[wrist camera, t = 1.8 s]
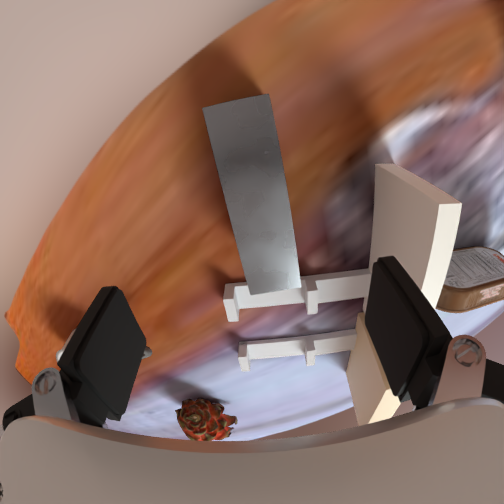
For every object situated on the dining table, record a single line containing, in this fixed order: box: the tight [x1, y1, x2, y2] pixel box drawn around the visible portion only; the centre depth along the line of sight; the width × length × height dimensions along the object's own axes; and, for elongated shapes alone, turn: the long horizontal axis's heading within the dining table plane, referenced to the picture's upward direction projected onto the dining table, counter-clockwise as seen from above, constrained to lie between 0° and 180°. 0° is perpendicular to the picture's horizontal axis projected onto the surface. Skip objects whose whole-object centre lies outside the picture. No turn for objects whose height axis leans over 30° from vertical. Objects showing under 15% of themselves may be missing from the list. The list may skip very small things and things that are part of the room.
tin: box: [436, 246, 504, 313], centre depth 22 cm, size 15×3×8 cm, turn 97°
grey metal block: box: [202, 94, 301, 295], centre depth 20 cm, size 4×14×6 cm, turn 12°
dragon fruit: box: [175, 398, 237, 441], centre depth 38 cm, size 8×8×12 cm
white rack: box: [223, 164, 462, 426], centre depth 24 cm, size 18×30×11 cm, turn 7°
